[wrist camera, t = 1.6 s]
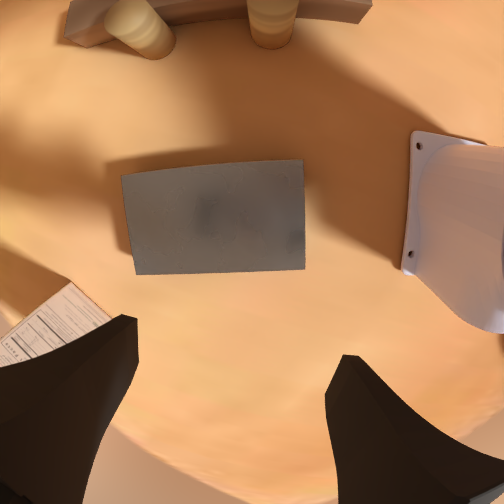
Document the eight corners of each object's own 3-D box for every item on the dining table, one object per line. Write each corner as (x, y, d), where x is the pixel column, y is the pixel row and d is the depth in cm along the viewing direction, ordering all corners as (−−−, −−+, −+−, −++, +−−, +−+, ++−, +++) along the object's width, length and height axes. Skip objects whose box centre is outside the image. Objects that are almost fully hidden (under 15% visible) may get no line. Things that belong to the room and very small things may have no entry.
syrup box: (98, 361, 22) (19, 485, 9) (49, 317, 21) (-49, 421, 7) (124, 327, 21) (27, 477, 7) (69, 276, 20) (-60, 391, 6)
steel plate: (300, 254, 19) (305, 269, 16) (150, 260, 19) (136, 275, 17) (297, 158, 17) (303, 159, 14) (138, 172, 17) (121, 175, 15)
